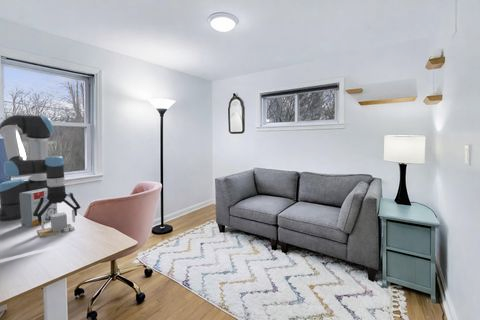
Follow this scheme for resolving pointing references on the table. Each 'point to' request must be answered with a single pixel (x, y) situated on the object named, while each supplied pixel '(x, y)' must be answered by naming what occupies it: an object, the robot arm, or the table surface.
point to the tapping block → (58, 222)
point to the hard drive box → (34, 207)
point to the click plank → (46, 232)
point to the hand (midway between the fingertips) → (58, 225)
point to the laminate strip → (68, 227)
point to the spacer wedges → (68, 229)
